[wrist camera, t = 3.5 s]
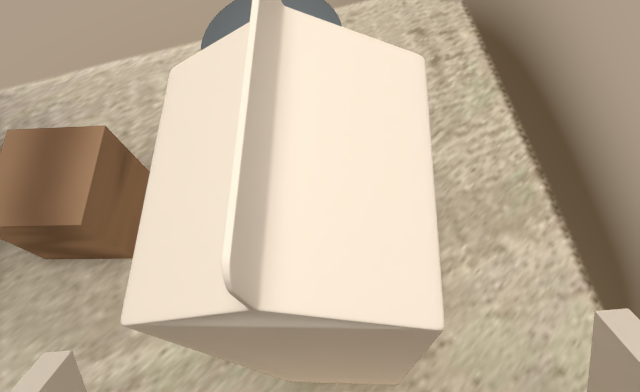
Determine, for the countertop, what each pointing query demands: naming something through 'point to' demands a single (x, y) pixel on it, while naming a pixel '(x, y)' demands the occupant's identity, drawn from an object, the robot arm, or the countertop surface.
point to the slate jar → (240, 10)
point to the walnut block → (70, 193)
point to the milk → (293, 205)
